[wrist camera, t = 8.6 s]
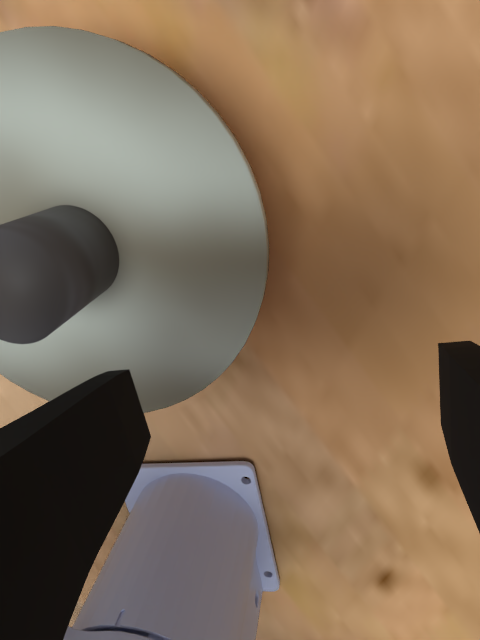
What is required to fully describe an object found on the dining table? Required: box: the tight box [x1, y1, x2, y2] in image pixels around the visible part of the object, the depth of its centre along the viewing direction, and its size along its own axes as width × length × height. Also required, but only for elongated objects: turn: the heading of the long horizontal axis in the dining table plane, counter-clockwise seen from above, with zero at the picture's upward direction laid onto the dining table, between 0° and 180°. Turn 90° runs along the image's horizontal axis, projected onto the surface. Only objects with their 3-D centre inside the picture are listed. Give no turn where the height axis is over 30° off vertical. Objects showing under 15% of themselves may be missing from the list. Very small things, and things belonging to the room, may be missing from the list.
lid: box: [0, 26, 269, 413], centre depth 14 cm, size 13×13×4 cm
